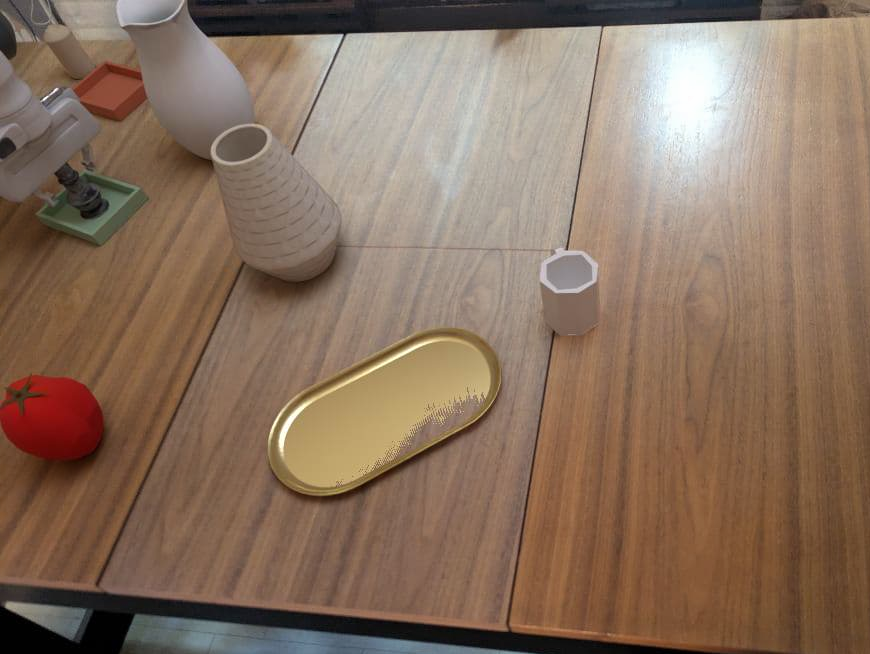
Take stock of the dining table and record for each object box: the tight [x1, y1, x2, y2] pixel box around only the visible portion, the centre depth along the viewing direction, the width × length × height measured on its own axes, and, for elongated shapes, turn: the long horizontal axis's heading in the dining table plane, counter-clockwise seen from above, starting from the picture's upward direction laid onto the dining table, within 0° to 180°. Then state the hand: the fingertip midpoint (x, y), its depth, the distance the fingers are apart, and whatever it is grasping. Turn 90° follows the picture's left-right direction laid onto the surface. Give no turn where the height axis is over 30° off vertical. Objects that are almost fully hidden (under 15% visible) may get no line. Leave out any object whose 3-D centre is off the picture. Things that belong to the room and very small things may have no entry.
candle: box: [42, 23, 96, 80], centre depth 150 cm, size 6×6×10 cm
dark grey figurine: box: [53, 162, 109, 220], centre depth 124 cm, size 6×6×12 cm
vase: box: [211, 123, 342, 283], centre depth 109 cm, size 17×17×23 cm
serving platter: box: [267, 326, 503, 497], centre depth 101 cm, size 19×35×2 cm, turn 120°
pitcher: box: [115, 0, 256, 161], centre depth 126 cm, size 24×17×28 cm
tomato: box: [0, 372, 105, 461], centre depth 98 cm, size 12×12×13 cm
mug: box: [539, 247, 601, 337], centre depth 104 cm, size 12×9×10 cm
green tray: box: [34, 168, 149, 247], centre depth 128 cm, size 15×13×3 cm
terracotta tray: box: [70, 60, 148, 122], centre depth 147 cm, size 15×13×3 cm
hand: (73, 185), depth 124 cm, fingers open, 8 cm apart
